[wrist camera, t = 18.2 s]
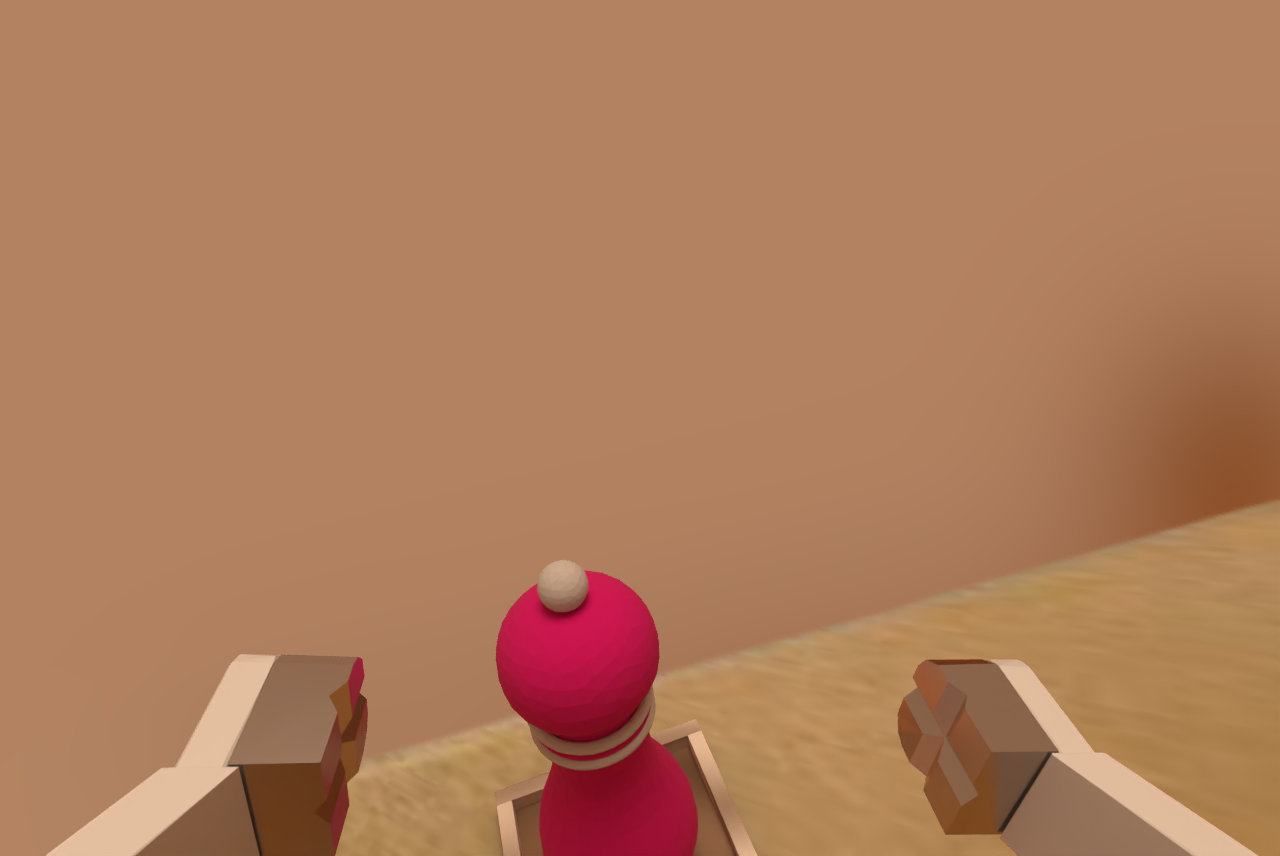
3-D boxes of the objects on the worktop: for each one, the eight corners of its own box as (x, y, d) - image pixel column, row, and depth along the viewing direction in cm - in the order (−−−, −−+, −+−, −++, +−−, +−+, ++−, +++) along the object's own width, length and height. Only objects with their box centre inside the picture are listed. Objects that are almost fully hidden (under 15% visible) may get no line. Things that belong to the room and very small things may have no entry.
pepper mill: (531, 858, 35) (419, 564, 24) (645, 770, 38) (590, 477, 28) (611, 996, 29) (512, 696, 19) (735, 880, 33) (709, 570, 22)
